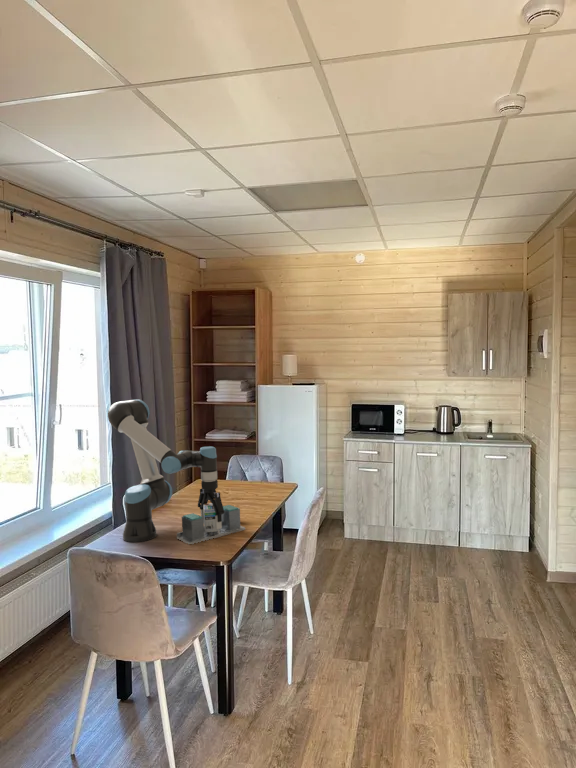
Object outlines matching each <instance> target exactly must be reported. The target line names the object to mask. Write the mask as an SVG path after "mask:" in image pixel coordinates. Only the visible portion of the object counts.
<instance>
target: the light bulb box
mask: <svg viewBox="0 0 576 768" xmlns="http://www.w3.org/2000/svg"><path fill="white" fill-rule="evenodd" d="M203 514H204V528H205V532H214V531H219V529H216V520H215V515H216V512H215V510H214V507H213V505H212V503H211V502H210V503H207V504H203Z"/></svg>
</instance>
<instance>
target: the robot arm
mask: <svg viewBox="0 0 576 768" xmlns="http://www.w3.org/2000/svg"><path fill="white" fill-rule="evenodd" d="M150 413H151V412H150V408H149V406H148V404H147V403H146V402H145V401H143V400H142V399H129V400H121V401H117V402H114V403H113V404H111V405H110V407H109V409H107V419H108V422H109V423H110V425H111V426H112V427H113V428H114V429H115V430H116V431H117V432H118V433H120V434H121V433H123V434H125V436H127V437H128V438H129V439H130V442H131V444H132V449H133V452H134V455H135V459H136V463H137V466H138V469H139V473H140V476H141V480H140V484H136V485H133V486H130V487H128V488H127V489H126V490H125V492H124V504H125V506H124V507H125V526H124V530H123V533H122V540H123V541H125V542H128V543H130V542H131V543H139V542H145V541H146V542H147V541H150V540H152V539H154V538H156V537H157V528H156V526H155V524H154V521H153V516H152V515H153V512H152V511H153V510H156V509H157V508H160V507H163V506H164V505H166V504H167V503H169V502H170V501H171V498H172V496H173V488H172V485H171V484H170V482H168V481H167V480H165V477H164V476H163V475H162V474H160V471H159V468H158V464H157V461H158V462H159V463H160V464H161V468H162V471H163V472H164V473H165V474H169V475H171V474H175V473H178V472H181V471H184V470H186V469H189V468H200V480H201V483H200V484H201V486H200V487H201V488H200V489H199V497H198V503H197V508H199V510H200V516H201V517H202V518H203V520H204V514H203V504H208V502H210V503H212V505H213V507H214V510H215V512H216V515H215V520H216V529H220V528H222V523H221V521H222V519H221V515H222V514H224V509H223V506H224V505H223V503H222V498H221V492H220V491H219V492H217V491H216V490H217V489H218V485H219V482H218V463H217V462H218V461H217V458H218V455H217V448H216V447H214V446H210V445H209V446H202V447H200V449H199V450H188V449H186V450H180V451H178V452H177V453H176V452H175V451H173V450H172V449H171V448H170V447H168V446H167V445H166V444H164V442H162V441H161V440H159V439H158V437H156V436H155V435H154V434H152V433H151V432H150V431H149V430H148V429H147V427H148V425H149V421H148V419H149V416H150Z"/></svg>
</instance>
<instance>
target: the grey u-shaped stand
mask: <svg viewBox="0 0 576 768" xmlns="http://www.w3.org/2000/svg"><path fill="white" fill-rule="evenodd" d="M238 508H239V507H237V506H234V505H230V504H227V505H223V509H224V514H222V515H221V519H222V521H221V523H222V528H220V529H219V531H214V532H205V528H204V520H203V518H202V517H201V515H199V514H196V513H193V512H192V513H188V514H185V515H182V516H181V528H182V529H181V531H180V532H176V540H178V539H179V541H180V540H181V541H180V542H182V541H183V542H182V543H185V544H187V543H188V544H187V545H189V544H192V545H194V543H196V544H198V542H199V543H202V542H201V541H203V542H206V541H209V539H210V540H213V538H214V539H216V538H220V537H224V536H228V535H232V534H235V533H240V532H241V531H246V526H242V525H241V509H238ZM231 533H232V534H231ZM205 540H206V541H205Z"/></svg>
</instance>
